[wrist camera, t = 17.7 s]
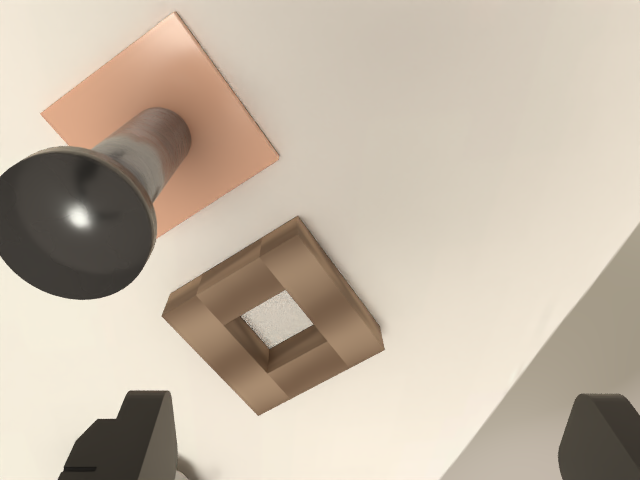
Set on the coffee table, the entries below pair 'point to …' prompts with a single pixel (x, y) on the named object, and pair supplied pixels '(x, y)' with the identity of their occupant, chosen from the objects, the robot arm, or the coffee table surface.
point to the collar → (257, 287)
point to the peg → (90, 207)
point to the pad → (180, 97)
